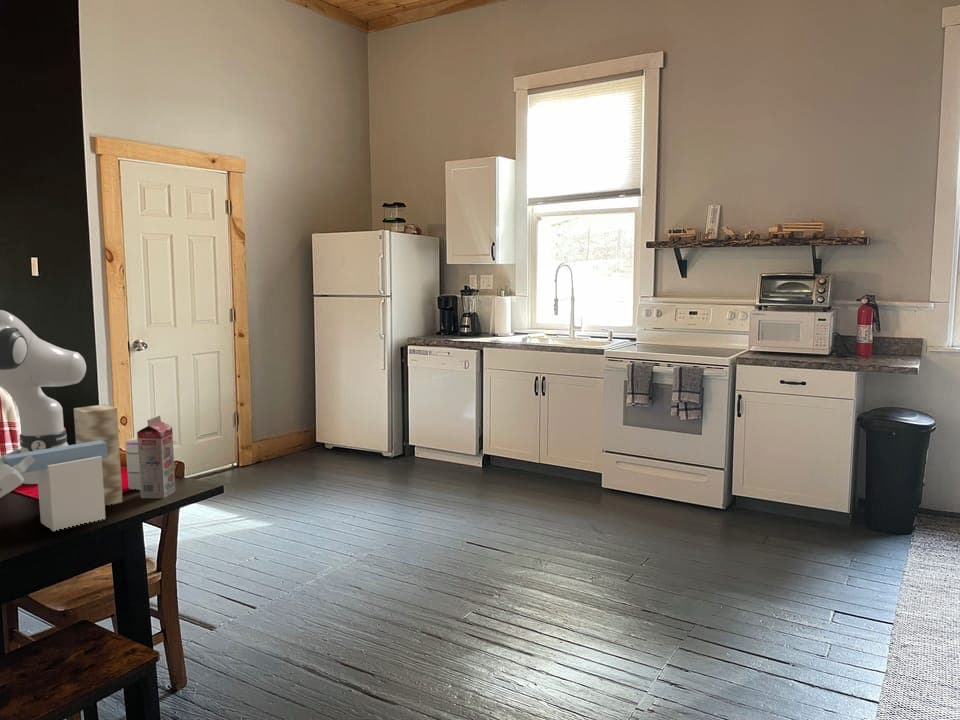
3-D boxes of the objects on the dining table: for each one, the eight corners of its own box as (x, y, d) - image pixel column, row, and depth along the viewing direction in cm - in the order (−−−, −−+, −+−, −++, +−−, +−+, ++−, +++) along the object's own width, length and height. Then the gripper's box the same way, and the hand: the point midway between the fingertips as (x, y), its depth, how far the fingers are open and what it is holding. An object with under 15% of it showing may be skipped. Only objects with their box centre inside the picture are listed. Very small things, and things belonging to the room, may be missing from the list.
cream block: (53, 531, 176) (48, 466, 174) (40, 522, 182) (36, 459, 180) (105, 519, 185) (101, 456, 183) (91, 510, 191) (87, 450, 189)
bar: (9, 475, 171) (7, 459, 170) (4, 472, 173) (2, 456, 173) (107, 457, 187) (106, 442, 186) (101, 455, 189) (100, 440, 189)
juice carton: (140, 497, 202) (136, 420, 200) (152, 490, 209) (148, 415, 206) (164, 498, 202) (160, 420, 199) (175, 491, 209) (171, 415, 206)
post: (91, 509, 193) (85, 412, 189) (79, 502, 198) (73, 408, 195) (122, 502, 199) (116, 408, 195) (110, 495, 204) (105, 404, 201)
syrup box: (146, 490, 209) (143, 440, 207) (127, 489, 210) (124, 439, 208) (158, 484, 215) (155, 436, 213) (140, 483, 216) (137, 435, 214)
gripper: (-27, 493, 158) (32, 451, 166) (-51, 474, 172) (5, 437, 180) (-8, 513, 161) (49, 472, 169) (-34, 494, 175) (21, 456, 183)
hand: (26, 454), depth 175 cm, fingers open, 7 cm apart
